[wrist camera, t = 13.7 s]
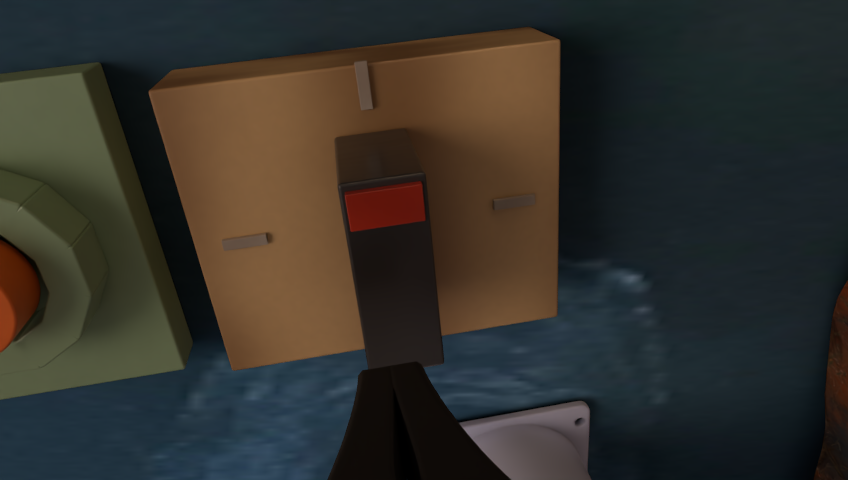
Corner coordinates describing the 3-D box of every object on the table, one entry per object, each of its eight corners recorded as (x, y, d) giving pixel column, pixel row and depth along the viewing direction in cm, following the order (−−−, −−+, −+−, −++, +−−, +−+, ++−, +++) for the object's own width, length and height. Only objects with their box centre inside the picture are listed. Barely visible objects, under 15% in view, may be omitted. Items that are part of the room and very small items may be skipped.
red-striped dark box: (424, 293, 21) (446, 370, 17) (361, 303, 21) (370, 383, 17) (405, 127, 18) (428, 175, 15) (333, 136, 18) (337, 188, 14)
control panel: (242, 326, 24) (232, 377, 21) (169, 66, 19) (144, 88, 17) (533, 279, 25) (559, 321, 22) (530, 22, 21) (563, 36, 18)
